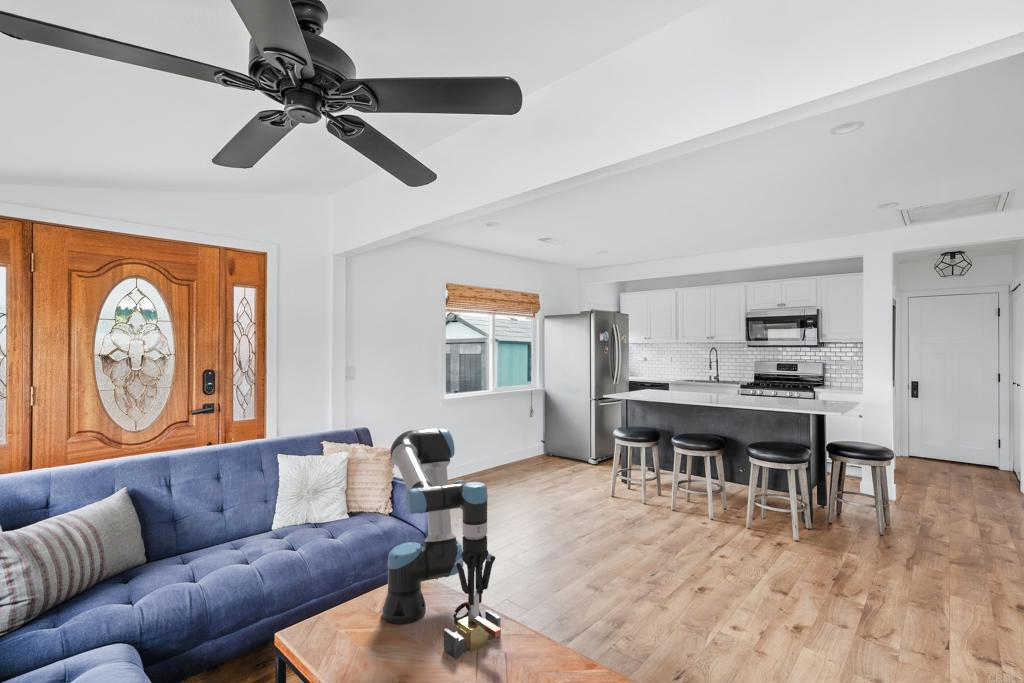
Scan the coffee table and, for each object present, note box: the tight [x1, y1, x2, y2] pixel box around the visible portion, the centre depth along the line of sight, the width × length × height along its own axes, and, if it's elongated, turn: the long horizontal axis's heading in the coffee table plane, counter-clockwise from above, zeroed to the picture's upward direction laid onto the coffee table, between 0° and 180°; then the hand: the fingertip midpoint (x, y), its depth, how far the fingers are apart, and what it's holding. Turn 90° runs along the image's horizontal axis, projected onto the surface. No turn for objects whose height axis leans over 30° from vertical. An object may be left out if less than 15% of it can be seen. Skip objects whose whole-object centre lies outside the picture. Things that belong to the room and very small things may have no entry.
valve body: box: [443, 609, 502, 661], centre depth 159 cm, size 7×18×7 cm, turn 132°
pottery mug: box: [452, 601, 483, 627], centre depth 171 cm, size 12×10×8 cm
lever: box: [467, 611, 502, 639], centre depth 155 cm, size 14×3×2 cm, turn 42°
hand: (474, 614), depth 149 cm, fingers closed
